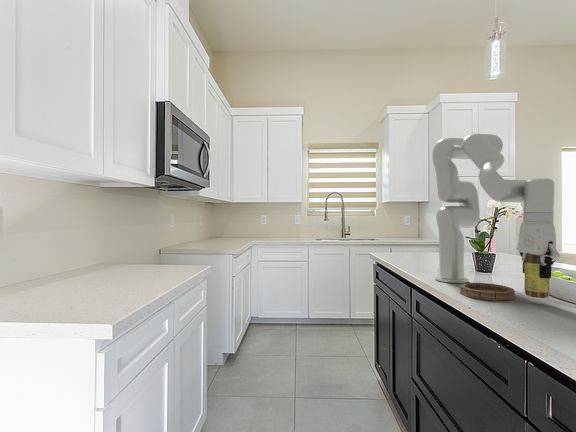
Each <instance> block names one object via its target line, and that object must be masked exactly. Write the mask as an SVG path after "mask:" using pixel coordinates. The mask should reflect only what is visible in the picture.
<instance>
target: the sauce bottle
mask: <svg viewBox="0 0 576 432" xmlns="http://www.w3.org/2000/svg"><path fill="white" fill-rule="evenodd" d="M543 255H546V253H545V254H543ZM546 259H547V257H545V260H546ZM540 265H542V264H541V260H540V257H539V256H536V255H532V254H529V253H526V254H525V273H524V286H523V287H524V294H525V295H526V296H528V297H530V298H531V297H532V298H539V299H547V298H549V293H550V278H540V277H539V271H540Z"/></svg>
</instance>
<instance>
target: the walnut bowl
mask: <svg viewBox="0 0 576 432" xmlns="http://www.w3.org/2000/svg"><path fill="white" fill-rule="evenodd" d="M459 286H460V287H459V292H460V293H459V294H461V295H462V296H465V297H468V298H471V299H475V300H482V301H493V302H509V301H513V300H515V297H516V290H515V289H514V288H513V287H510V286H507V285H501V284H495V283H490V282H489V283H486V282H466V283H459Z"/></svg>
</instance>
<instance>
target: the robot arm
mask: <svg viewBox="0 0 576 432" xmlns="http://www.w3.org/2000/svg"><path fill="white" fill-rule="evenodd" d="M503 146H504V143H503V139H501V137H500V136H498V135H496V134H492V133H491V134H490V133H489V134H488V133H487V134H486V133H473V134H468V135H467V136H466V137H464V138H461V137H446V138H442V139H440V140H438V141H437V142H436V144H435V145H434V147H433V150H432V162H433V166H434V169H435V175H436V176H435V178H436V187H437V188H436V189H437V195H438V199H439V200H440V202H441V203H445V204H459V205H445V206H442V207H441V208H439V209H438V210H437V212H436V215H435V216H436V217H435V218H436V223H437V229H438V230H437V231H438V269H437V272H438V275H435V277H434V278H435V279H434V280H435V281H439V282H442V283H443V282H444V283H451V284H463V283H469V278H468V277H466V276H465V238H464V235H463V232H462V231H461V229H471V228H475V227H476V226H478V224H479V222H480V219H481V214H480V212H481V211H480V202H479V194H478V190H477V187H476V185H475V184H474V183H472V181H468V180H467V181H465V180H460V178H459V170H458V168H457V166H456V164H455V163H454V162H453V160H452V159H455V160H457V159H458V160H471V161H472V162H473V164H474V165H475V166H476V167H477V168H478V169H479V173H478V179H479V184H480V186H481V188H482V189H483V191H484V192H485V193H486V194H487V195H488V197H489V198H491V200H493V201H496V202H498V203H523V208H522V209H523V211H522V213H523V214H522V216H523V217H522V218H523V219H522V221H521V224H520V228H519V233H518V241H517V242H518V243H517V244H518V245H517V247H516V248H517V249H516V250H517V251H518V253H519V255H520V257H521V260H522V274H525V254H526V253H529V254H532V255H536V256H539V257H540V260H541V264H542V265H540V271H539V277H540V278H549V279H551V278H552V266H553V265H554V263H555V262H556V260H558V259H559V258H560V257H561V254H560V253H559V251H558V250H557V235H556V227H555V223H554V216H555V215H554V212H555V211H554V210H555V181H554V180H553V179H551V178H530V179H505V178H503V177H502V175H500V174H499V172H498V170H499V169H500V168H501V167H502V166H503V164H504V162H505V157H504V155H503V154H502V151H503ZM545 253H546V255H543V254H545ZM545 257H547V259H546V260H545Z"/></svg>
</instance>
